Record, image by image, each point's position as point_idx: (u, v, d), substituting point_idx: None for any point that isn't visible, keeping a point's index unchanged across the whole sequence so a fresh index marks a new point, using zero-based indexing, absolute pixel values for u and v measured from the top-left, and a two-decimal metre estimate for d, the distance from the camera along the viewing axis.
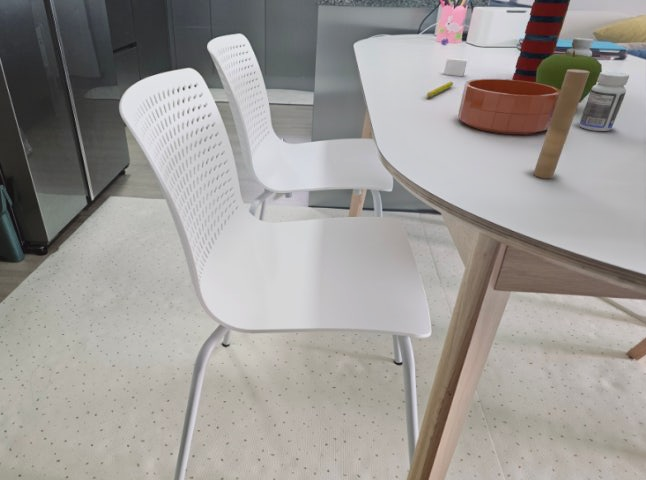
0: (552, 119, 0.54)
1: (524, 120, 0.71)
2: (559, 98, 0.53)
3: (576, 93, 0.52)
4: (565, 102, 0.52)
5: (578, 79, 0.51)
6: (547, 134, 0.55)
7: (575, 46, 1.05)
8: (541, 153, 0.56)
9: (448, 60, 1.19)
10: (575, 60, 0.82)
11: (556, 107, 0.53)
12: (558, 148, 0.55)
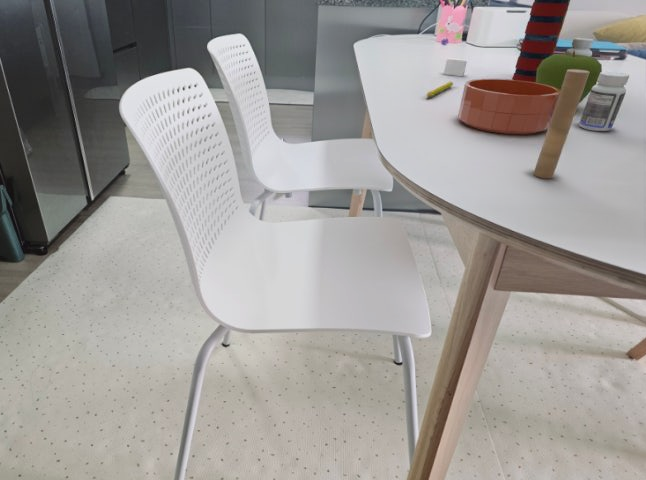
0: (552, 119, 0.54)
1: (524, 120, 0.71)
2: (559, 98, 0.53)
3: (576, 93, 0.52)
4: (565, 102, 0.52)
5: (578, 79, 0.51)
6: (547, 134, 0.55)
7: (575, 46, 1.05)
8: (541, 153, 0.56)
9: (448, 60, 1.19)
10: (575, 60, 0.82)
11: (556, 107, 0.53)
12: (558, 148, 0.55)
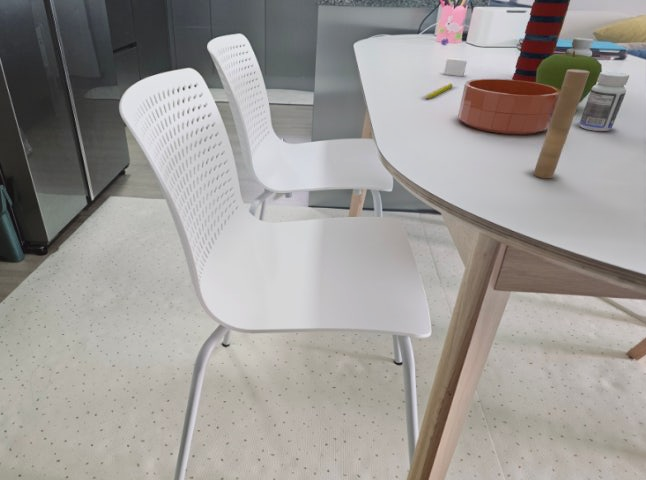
0: (552, 119, 0.54)
1: (524, 120, 0.71)
2: (559, 98, 0.53)
3: (576, 93, 0.52)
4: (565, 102, 0.52)
5: (578, 79, 0.51)
6: (547, 134, 0.55)
7: (575, 46, 1.05)
8: (541, 153, 0.56)
9: (448, 60, 1.19)
10: (575, 60, 0.82)
11: (556, 107, 0.53)
12: (558, 148, 0.55)
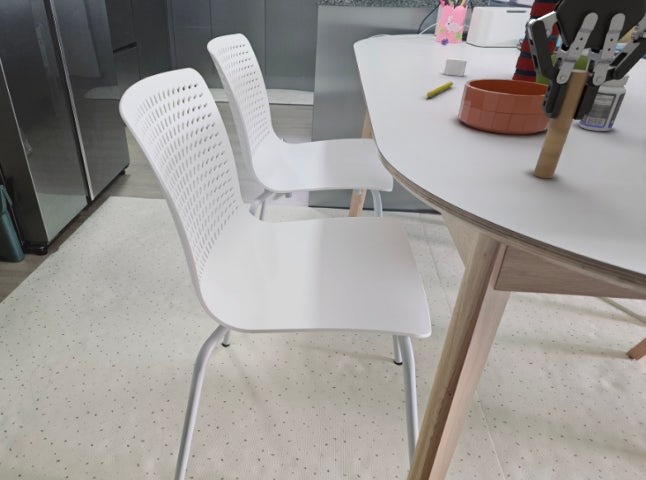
0: (552, 119, 0.54)
1: (524, 120, 0.71)
2: None
3: (576, 93, 0.52)
4: (565, 102, 0.52)
5: (578, 79, 0.51)
6: (547, 134, 0.55)
7: None
8: (541, 153, 0.56)
9: (448, 60, 1.19)
10: None
11: None
12: (558, 148, 0.55)
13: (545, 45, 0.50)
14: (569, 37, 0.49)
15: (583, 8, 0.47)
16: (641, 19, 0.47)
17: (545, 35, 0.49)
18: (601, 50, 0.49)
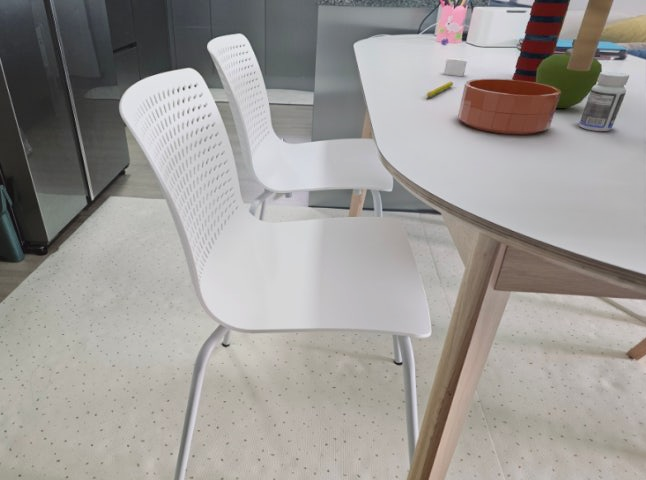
0: None
1: (524, 120, 0.71)
2: None
3: None
4: None
5: None
6: (584, 17, 0.49)
7: None
8: (577, 41, 0.50)
9: (448, 60, 1.19)
10: None
11: None
12: (597, 32, 0.48)
13: None
14: None
15: None
16: None
17: None
18: None
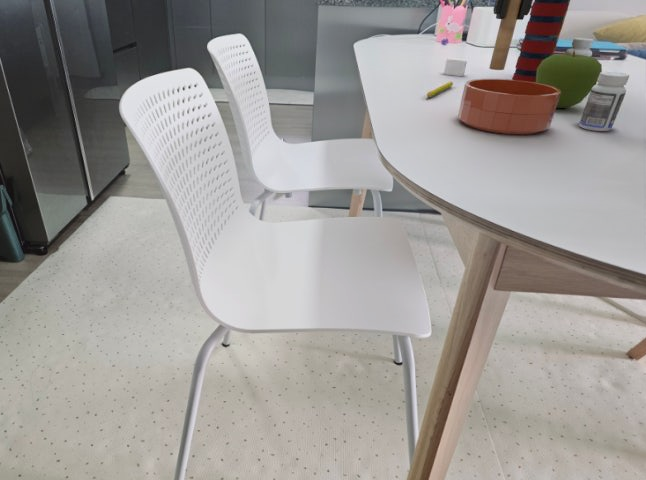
0: (501, 20, 0.71)
1: (524, 120, 0.71)
2: None
3: None
4: (510, 5, 0.69)
5: None
6: (498, 33, 0.71)
7: (575, 46, 1.05)
8: (494, 49, 0.73)
9: (448, 60, 1.19)
10: (575, 60, 0.82)
11: None
12: (506, 43, 0.71)
13: None
14: None
15: None
16: None
17: None
18: None
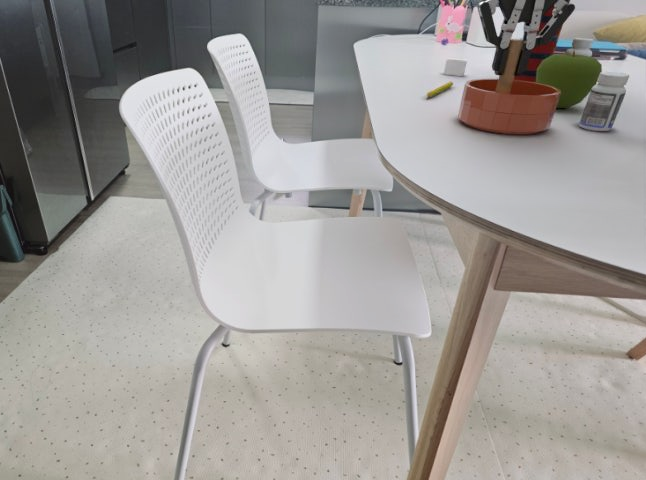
0: (499, 76, 0.74)
1: (524, 120, 0.71)
2: None
3: (515, 55, 0.71)
4: (507, 62, 0.72)
5: (515, 45, 0.70)
6: (496, 88, 0.75)
7: (575, 46, 1.05)
8: None
9: (448, 60, 1.19)
10: (575, 60, 0.82)
11: None
12: None
13: (490, 20, 0.69)
14: (507, 14, 0.68)
15: None
16: (557, 1, 0.67)
17: (490, 13, 0.68)
18: (530, 23, 0.68)
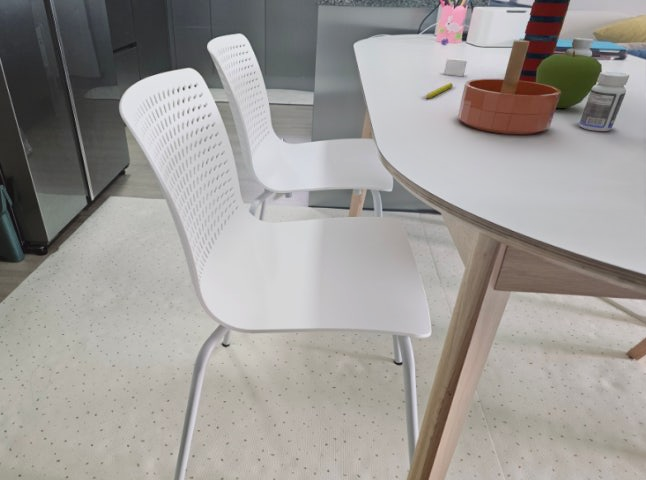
0: (505, 77, 0.75)
1: (524, 120, 0.71)
2: (509, 61, 0.73)
3: (520, 57, 0.72)
4: (513, 64, 0.73)
5: (521, 47, 0.71)
6: (502, 88, 0.76)
7: (575, 46, 1.05)
8: None
9: (448, 60, 1.19)
10: (575, 60, 0.82)
11: (507, 68, 0.74)
12: None
13: None
14: None
15: None
16: None
17: None
18: None
